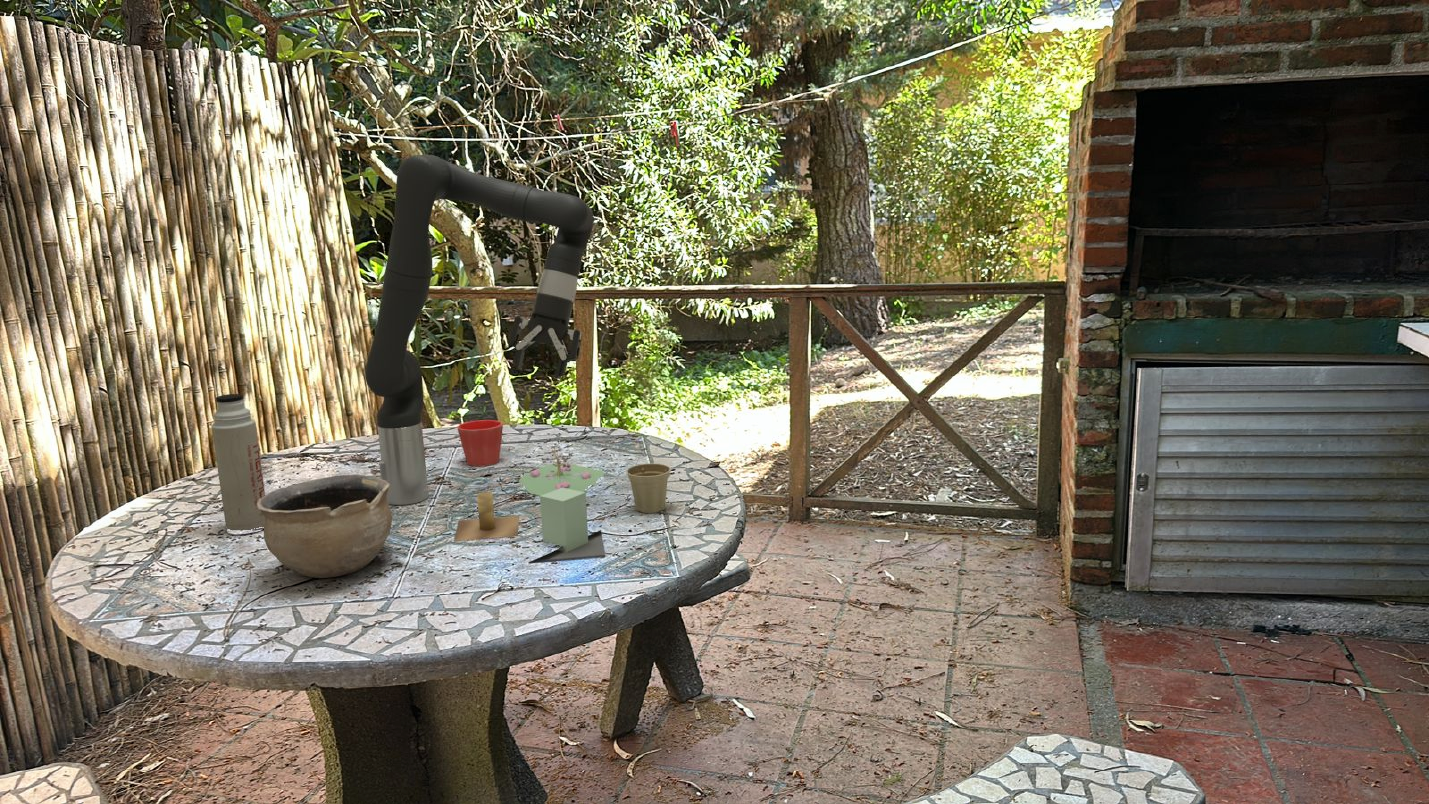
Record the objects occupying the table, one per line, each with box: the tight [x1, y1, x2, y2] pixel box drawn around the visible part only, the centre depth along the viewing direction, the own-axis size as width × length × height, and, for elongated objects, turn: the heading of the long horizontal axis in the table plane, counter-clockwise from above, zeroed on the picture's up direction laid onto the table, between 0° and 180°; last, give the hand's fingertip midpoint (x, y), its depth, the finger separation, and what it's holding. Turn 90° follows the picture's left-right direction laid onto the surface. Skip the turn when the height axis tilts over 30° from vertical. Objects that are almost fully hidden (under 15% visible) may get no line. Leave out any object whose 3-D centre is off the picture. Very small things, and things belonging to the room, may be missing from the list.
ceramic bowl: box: [257, 474, 393, 579], centre depth 177 cm, size 22×22×15 cm
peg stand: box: [453, 491, 520, 542], centre depth 193 cm, size 12×12×8 cm
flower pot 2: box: [625, 462, 672, 514], centre depth 206 cm, size 9×9×9 cm
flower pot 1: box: [457, 419, 504, 467], centre depth 244 cm, size 11×11×10 cm
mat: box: [527, 529, 606, 564], centre depth 187 cm, size 14×14×1 cm
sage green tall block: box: [539, 488, 589, 552], centre depth 185 cm, size 6×6×10 cm
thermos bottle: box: [211, 393, 266, 530], centre depth 198 cm, size 8×8×28 cm
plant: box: [518, 443, 605, 497], centre depth 225 cm, size 25×21×9 cm
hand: (537, 373), depth 198 cm, fingers open, 8 cm apart
